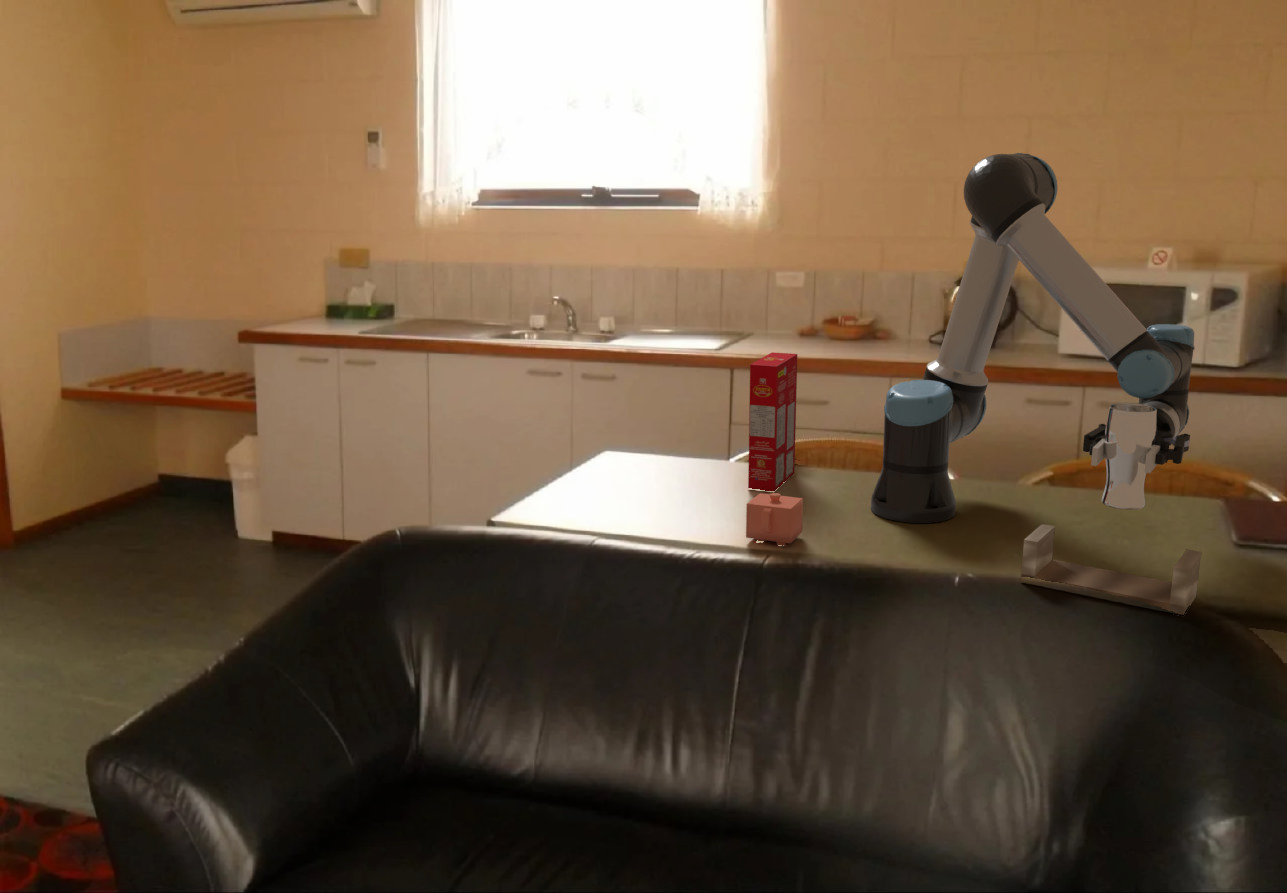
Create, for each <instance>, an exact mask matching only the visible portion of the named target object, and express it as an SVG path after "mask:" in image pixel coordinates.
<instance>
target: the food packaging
mask: <svg viewBox="0 0 1287 893" xmlns="http://www.w3.org/2000/svg"><path fill="white" fill-rule="evenodd" d="M797 378H798V353H788V352H787V353H786V352H770V353H768V354H767V355H765V356H763V357H761V358H759V359H758V360H756V361H754V362H752V363H750V364H749V405H748V406H749V414H748V416H749V419H748V420H749V423H748V426H749V427H748V476H747V477H748V482H747V483H748V486H747V488H752V489H760V490H765V491H775V490H776V489H777V488H778V487H780V486H781V485H782V484H783V482H785V481H786V480H787V479H788V478H789V477H791V476H792V475H793V474H794V475H795V465H796V463H795V462H796V431H797V430H796V425H797V424H796V423H797V421H796V420H797V391H798V390H797V389H798V388H797V384H798V383H797V382H798V381H797V380H798V379H797ZM794 475H793V476H794ZM793 476H792V477H793ZM792 477H791V478H792ZM787 481H788V480H787ZM787 481H786V482H787ZM786 482H785V483H786ZM783 485H784V484H783ZM783 485H782V486H783ZM782 486H781V487H782ZM781 487H780V488H781Z"/></svg>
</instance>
